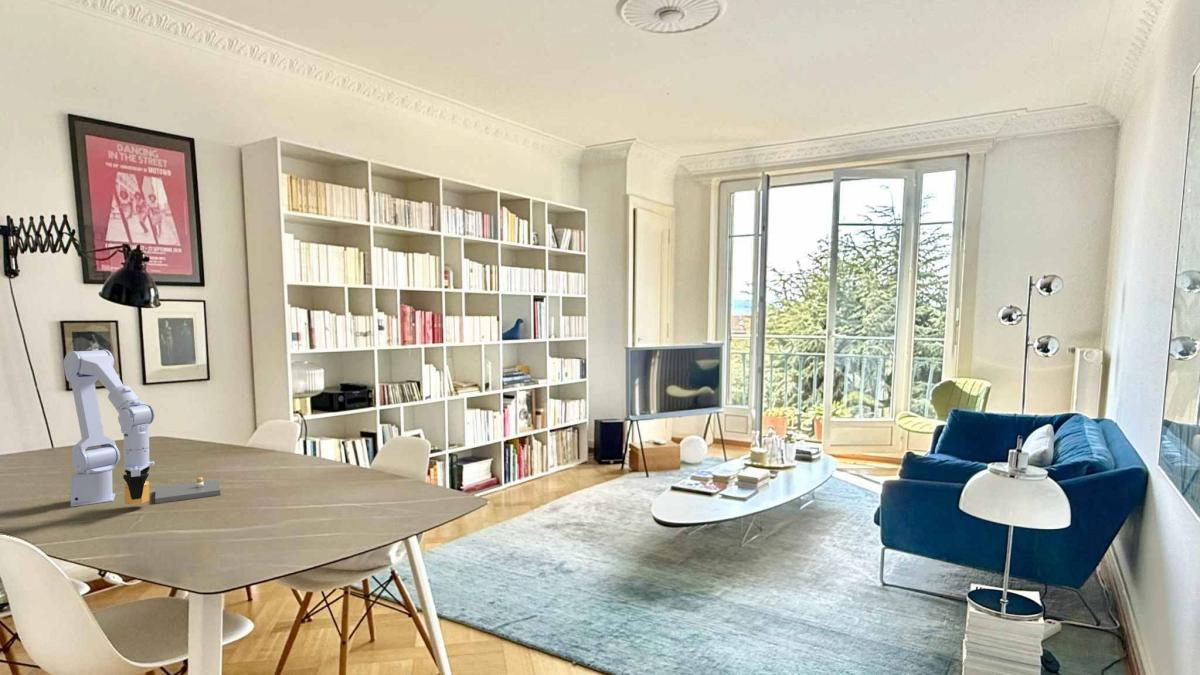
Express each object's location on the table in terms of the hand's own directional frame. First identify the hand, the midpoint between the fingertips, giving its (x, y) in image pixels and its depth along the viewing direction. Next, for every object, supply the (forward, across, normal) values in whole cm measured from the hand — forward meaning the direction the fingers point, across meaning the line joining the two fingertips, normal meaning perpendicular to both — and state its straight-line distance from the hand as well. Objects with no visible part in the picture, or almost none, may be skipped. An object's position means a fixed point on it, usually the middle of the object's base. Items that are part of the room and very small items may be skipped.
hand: (137, 496), depth 172 cm
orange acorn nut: (+1, 0, 0) cm, 1 cm away
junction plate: (+3, +9, -12) cm, 15 cm away
